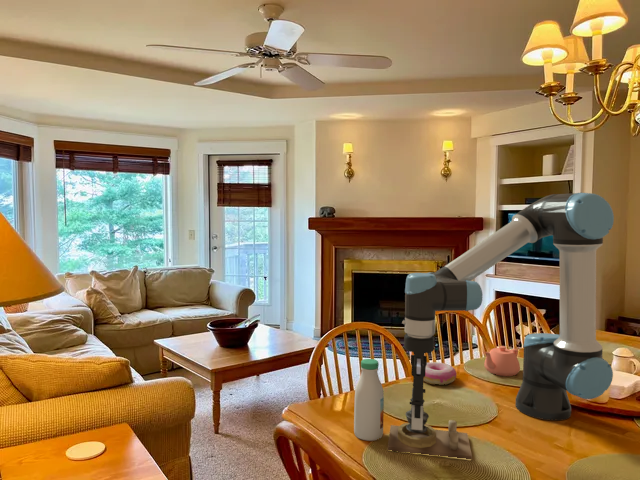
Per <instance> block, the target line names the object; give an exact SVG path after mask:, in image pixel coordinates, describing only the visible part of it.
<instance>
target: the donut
mask: <svg viewBox="0 0 640 480" xmlns="http://www.w3.org/2000/svg"><path fill="white" fill-rule="evenodd" d="M456 378H457V371H456V369H455V368H454V367H453V366H452V365H450V364H449V363H448V364H447V363H443V362H437V361H435V362H434V361H431V362H430V361H429V362H427V365H426V371H425V377H424V379H423V382H425V383H427V384H430V383H431V385H435V384H439V385H438V386H445V385H449V384H452V383H453V382H454V381H455V380H456ZM444 384H445V385H444Z"/></svg>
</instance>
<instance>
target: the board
mask: <svg viewBox="0 0 640 480" xmlns="http://www.w3.org/2000/svg"><path fill="white" fill-rule="evenodd" d="M408 424H410V423H409V422H405V423H402V424H401V425H395V424H394V425H393V424H391V425H390V428H389V435H388V440H387V441H388V442H387V451H388V450H392V451H398V452H410V453H421V454H429V455H438V456H439V455H440V456H448V457H457V458H466V459H472V460H473V453H472V451H471V450H472V449H471V446H470V445H471V444H470V440H469V435H468V432H459V431H458V430H457V425H458V424H457V421H456V420H454V419H449V420H448V430H441V429H440V430H439V429H435V428H434V427H432V426H431V425H429V424H427V423H426V424H425V425H424V426H426V427H427V431H426V432H424V433H413V432H410V431H409V430H407V428H406V426H407V425H408ZM398 452H397V453H398Z"/></svg>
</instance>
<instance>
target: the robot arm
mask: <svg viewBox="0 0 640 480" xmlns="http://www.w3.org/2000/svg"><path fill="white" fill-rule="evenodd" d="M614 218H615V216H614V211H613V208H612V206H611V204H610V203H609V202H608V201H607V200H606V199H605V198H604V197H602V196H601V195H599V194H597V193H591V192H576V193H575V192H574V193H573V192H572V193H556V194H555V193H553V194H549V195H545V196H544V197H542V198H540V199H538V200H536V201H534V202H532V203H530V204H529V205H527V206H526V207H524V208H522V209H521V210H520V211H518V212H517V213H515V214H514V215H513V216H512V217H511V220H510V222H509V223H507V224H505V225H504V226H502V227H501V228H499V229H498V230H496V231H495V232H493V233H492V234H491V235H489V236H488V237H486V238H485V239H483V240H482V241H481V242H479V243H477V244H476V245H474V246H473V247H471V248H470V249H468V250H467V251H465V252H464V253H462V254H461V255H460V256H458V257H457V258H455V259H453V260H451V262H448V263H447V264H446V265H444V266H443V267H441V268H439V269H437V271H435V272H434V271H433V272H430V271H429V272H412V273H409V274H407V276H406V279H405V288H404V293H405V295H404V301H405V302H404V305H405V306H404V308H405V309H404V319H403V320H402V322H401V324H403V325H404V333H405V334H404V335H403V336H404V338H403V347H404V349H405V351H408V352H410V353H413V354H411V355H410V365H411V373H410V375H411V376H412V377H413V378H412V379H413V381H412V388H413V401H412V402H411V401H409V405H412V426H411V429H414V430H423V410H424V403H423V399H424V394H426V389H425V388H424V381H423V379H424V377H425V371H426V365H427V363H428V362H427V361H428V360H427V355H424V354H429V353H430V354H431V353H433V351H434V350H435V336H434V335H435V334H436V312H451V311H453V312H454V311H459V312H460V311H463V312H464V311H465V312H467V311H476V310H478V309H479V308H480V307H481V305H482V303H483V290H482V287H481V285H480V284H479V282H477V281H475V280H474V279H476V278H477V277H479V276H480V275H482V274H483V273H485V272H486V271H487V270H489V269H491V268H492V267H494V266H495V265H497V264H498V263H500V262H501V261H503V260H504V259H505V258H507V257H508V256H510V255H512V254H513V253H515V252H516V251H518V250H519V249H520V248H522V247H523V246H525V245H527V244H528V243H529V244H530V243H531V244H534V243H536V242H537V241H539V240H541V239H542V238H546V237H549V236H552V240H553V241H552V242H553V243H552V244H553V245H554V246H555V248H556V249H558V252H559V334H557V333H556V334H555V333H546V332H545V333H544V332H543V333H542V332H541V333H538V332H537V333H529V334H527V335H525V337H524V341H523V342H524V343H523V346H522V347H523V360H522V361H523V363H522V365H523V366H522V382H521V385H520V387H519V389H518V391H517V394H516V397H515V408H516V409H517V410H518V411H519V412H521V413H523V414H525V415H527V416H530V417H532V418H534V419H535V418H537V419H539V420H540V419H541V420H545V421H546V420H547V421H563V420H568V419H569V418H570V417H571V416H572V406H571V403H570V400H569V396H568V393H569V394H571V395H572V396H576V397H579V398H580V399H584V400H593V399H597V398H598V397H601V396H602V395H604V393H605V392H606V391H608V389H609V388H610V387H611V384H612V381H613V378H614V371H613V368H612V366H611V365H610V363H609V362H608V361H607V360H605V359H604V357H603V345H602V344H601V343H600V342H599V341H598V340H597V250H598V249H599V248H601V247H602V246H603V244H604V237H606V236H607V235H608V234H609V233H610V230H612V229H613V225H614V220H615V219H614ZM567 392H568V393H567Z"/></svg>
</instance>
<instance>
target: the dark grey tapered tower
mask: <svg viewBox="0 0 640 480" xmlns="http://www.w3.org/2000/svg"><path fill="white" fill-rule="evenodd" d="M409 400H410V402H412V401H413V387H412V389H411V398H410V399H409ZM424 403H425V399H424V398H423V404H424ZM410 405H411V404H410ZM410 407H411V408H410V410H407V411H405V416H406V420H407V423H410V424H408V425H407V426H406V428H407V430H409V431H410V432H413V433H424V432H426V431H427V427H426V426H424V425H425V424H426V425H427V422H428V419H429V418H430V416H429V414H428V413H427V412H426V411H424V409H423V430H414V429H411V426H412V405H411V406H410Z"/></svg>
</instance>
